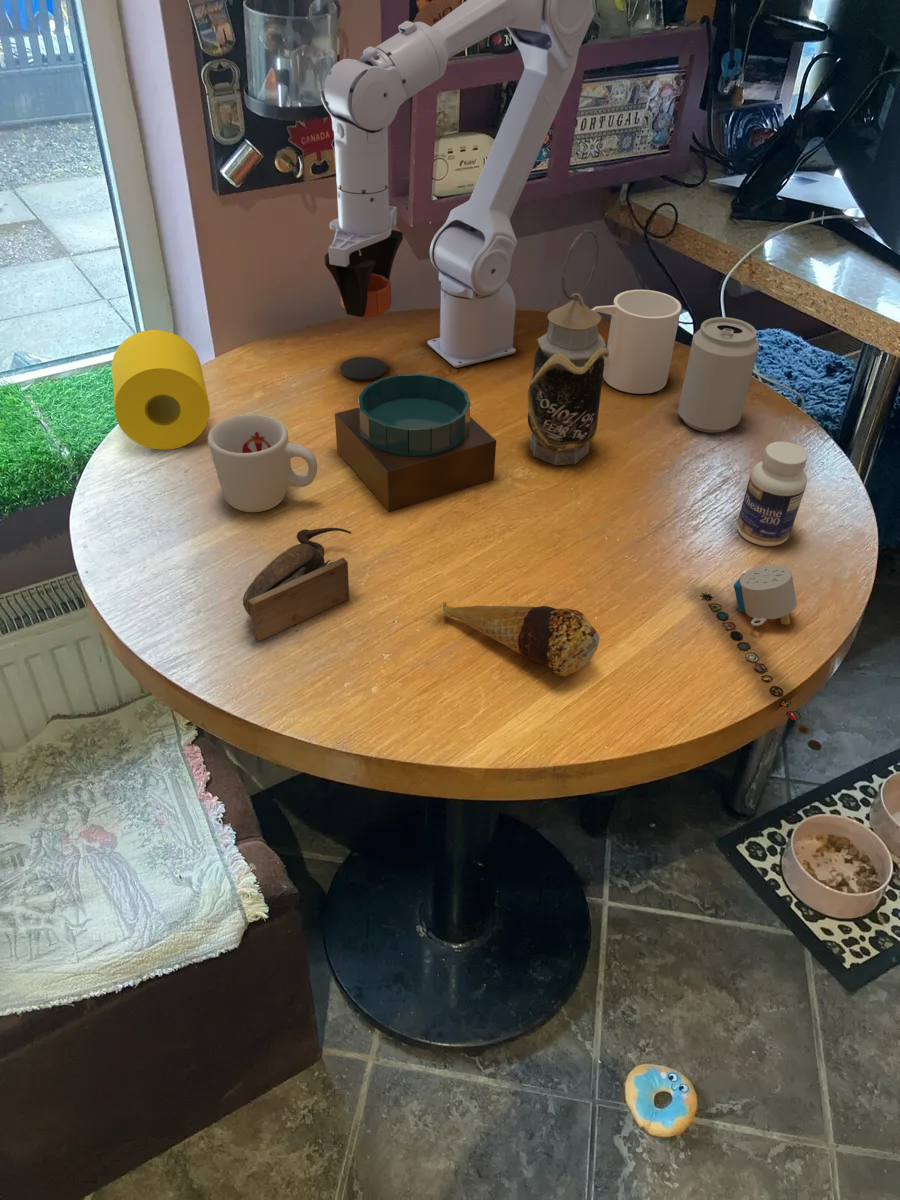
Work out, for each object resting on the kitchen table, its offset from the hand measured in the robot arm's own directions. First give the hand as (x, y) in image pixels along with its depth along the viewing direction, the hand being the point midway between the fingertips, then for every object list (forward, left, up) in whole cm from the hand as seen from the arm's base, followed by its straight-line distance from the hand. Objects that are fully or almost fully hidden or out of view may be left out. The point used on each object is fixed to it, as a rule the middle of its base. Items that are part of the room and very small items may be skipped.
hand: (366, 303), depth 112 cm
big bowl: (+4, +19, -5) cm, 21 cm away
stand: (+4, +19, -10) cm, 22 cm away
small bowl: (0, 0, -1) cm, 1 cm away
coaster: (-1, -3, -10) cm, 11 cm away
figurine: (+23, +37, -8) cm, 44 cm away
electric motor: (-12, +54, -10) cm, 57 cm away
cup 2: (-29, +14, -10) cm, 34 cm away
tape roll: (+27, +4, -5) cm, 28 cm away
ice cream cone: (+13, +43, -9) cm, 46 cm away
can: (-32, +27, -10) cm, 44 cm away
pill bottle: (-22, +47, -11) cm, 53 cm away
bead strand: (-9, +62, -10) cm, 63 cm away
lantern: (-12, +24, -10) cm, 29 cm away
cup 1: (+21, +18, -11) cm, 29 cm away
